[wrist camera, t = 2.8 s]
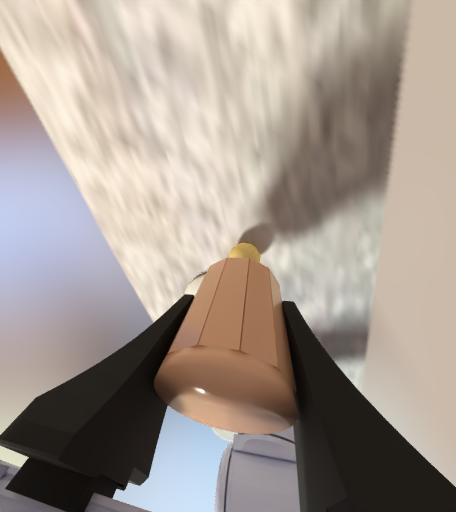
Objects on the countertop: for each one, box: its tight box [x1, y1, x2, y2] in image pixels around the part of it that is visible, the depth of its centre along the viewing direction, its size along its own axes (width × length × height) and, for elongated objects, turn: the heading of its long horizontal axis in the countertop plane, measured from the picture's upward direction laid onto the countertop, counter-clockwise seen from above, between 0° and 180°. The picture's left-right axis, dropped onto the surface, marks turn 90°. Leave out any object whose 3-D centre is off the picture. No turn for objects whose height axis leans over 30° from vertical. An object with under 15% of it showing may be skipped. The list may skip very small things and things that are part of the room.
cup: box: [154, 258, 298, 434], centre depth 9 cm, size 6×6×7 cm
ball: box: [229, 243, 260, 263], centre depth 16 cm, size 3×3×3 cm
